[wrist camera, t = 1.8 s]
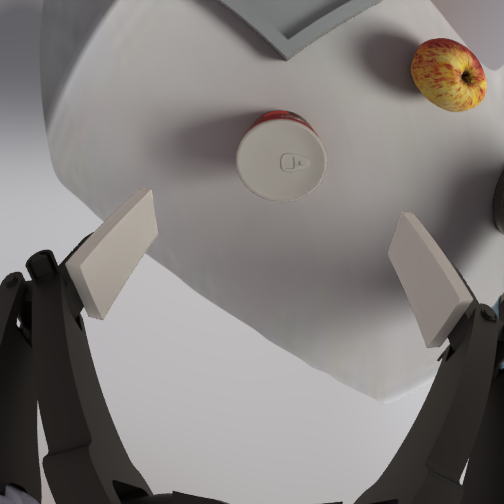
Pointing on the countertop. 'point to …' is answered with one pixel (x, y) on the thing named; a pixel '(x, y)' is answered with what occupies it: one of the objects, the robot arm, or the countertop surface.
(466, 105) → the apple
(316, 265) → the countertop surface
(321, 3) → the tray
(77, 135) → the countertop surface
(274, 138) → the canned food
